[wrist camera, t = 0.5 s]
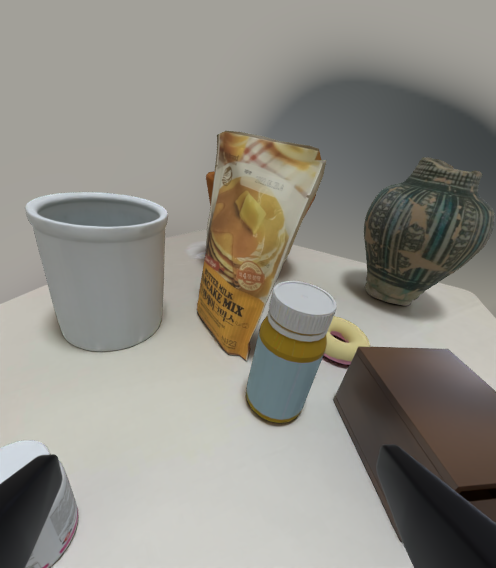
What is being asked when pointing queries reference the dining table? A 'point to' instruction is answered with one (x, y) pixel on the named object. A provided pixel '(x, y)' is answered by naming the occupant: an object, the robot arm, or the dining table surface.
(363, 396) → the cabinet
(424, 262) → the vase
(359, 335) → the donut
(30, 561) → the pill bottle
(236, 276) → the pancake mix bag
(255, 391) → the bottle
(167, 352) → the dining table surface
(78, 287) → the utensil holder
